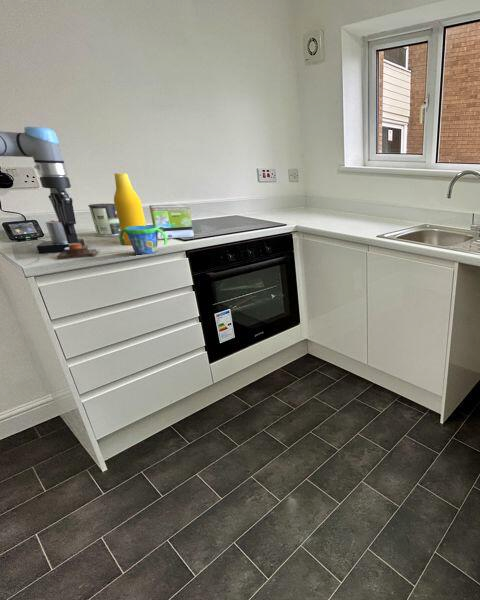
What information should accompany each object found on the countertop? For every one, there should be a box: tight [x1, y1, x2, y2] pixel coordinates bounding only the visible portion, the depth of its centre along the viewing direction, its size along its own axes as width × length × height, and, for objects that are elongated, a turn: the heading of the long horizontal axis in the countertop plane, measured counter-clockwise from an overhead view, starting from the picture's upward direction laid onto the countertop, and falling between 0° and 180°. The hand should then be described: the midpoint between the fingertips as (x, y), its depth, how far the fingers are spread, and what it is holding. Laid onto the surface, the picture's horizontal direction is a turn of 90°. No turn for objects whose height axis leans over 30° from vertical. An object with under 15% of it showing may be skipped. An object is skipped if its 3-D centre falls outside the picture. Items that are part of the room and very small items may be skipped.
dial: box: [45, 219, 68, 243], centre depth 137 cm, size 5×5×8 cm
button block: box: [56, 245, 98, 260], centre depth 132 cm, size 10×8×3 cm
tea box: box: [148, 204, 194, 241], centre depth 166 cm, size 15×10×15 cm, turn 129°
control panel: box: [36, 238, 86, 255], centre depth 139 cm, size 12×10×3 cm
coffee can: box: [88, 203, 121, 237], centre depth 166 cm, size 10×10×14 cm
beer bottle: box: [113, 172, 147, 246], centre depth 149 cm, size 9×9×29 cm
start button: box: [69, 243, 82, 249], centre depth 131 cm, size 4×4×2 cm
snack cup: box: [118, 224, 168, 256], centre depth 137 cm, size 16×10×10 cm
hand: (73, 242), depth 131 cm, fingers closed
